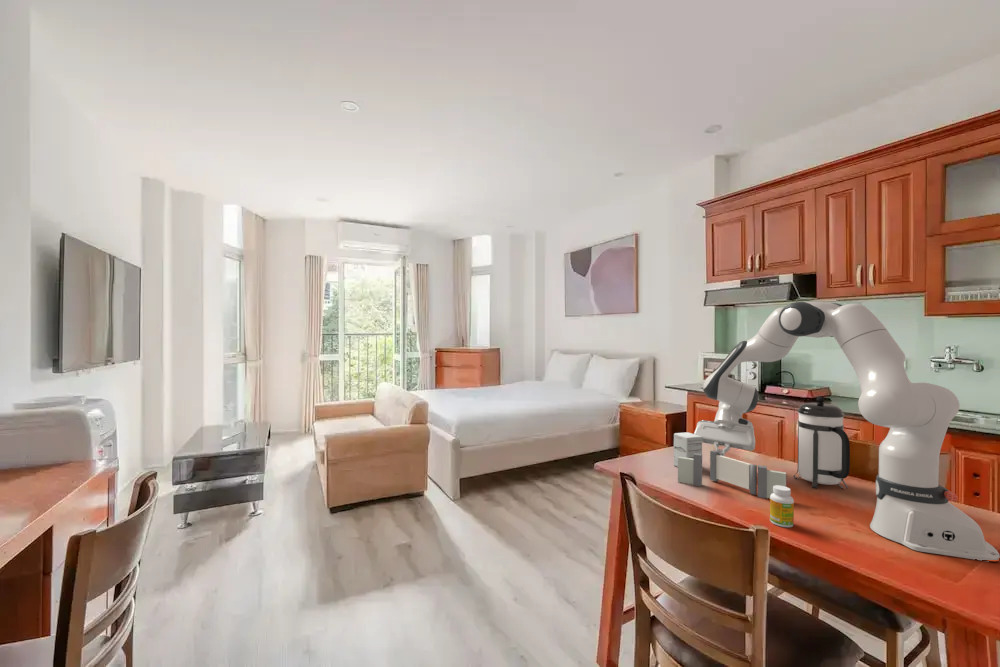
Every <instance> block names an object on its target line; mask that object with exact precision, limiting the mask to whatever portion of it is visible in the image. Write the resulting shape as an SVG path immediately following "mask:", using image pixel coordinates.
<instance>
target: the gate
mask: <svg viewBox="0 0 1000 667" xmlns="http://www.w3.org/2000/svg"><path fill="white" fill-rule="evenodd" d="M715 450H716V449H715ZM715 450H714V449H713V450H710V451H709V452H710V455H709V456H710V457H709V462H710V463H709V464H710V465H709V480H710V481H713V482H719V481H723V482H726V483H729V484H732V485H733V486H737V487H740V488H743V489H746V490H749V494H751V495H758V465H757V464H753V463H748V462H746V461H742V460H738V459H735V458H732V457H728V456H726V455H725V456H721V455H719V452H718V451H715Z"/></svg>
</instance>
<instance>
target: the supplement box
mask: <svg viewBox="0 0 1000 667" xmlns="http://www.w3.org/2000/svg"><path fill="white" fill-rule="evenodd" d="M694 453H700V454H702V455H703V443H702V437H701V436H697V435H694V433H691V432H689V431H688V432H675V433H673V466H674V467H677V468H678V457H686V458H692V459H694Z"/></svg>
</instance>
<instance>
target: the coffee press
mask: <svg viewBox="0 0 1000 667" xmlns="http://www.w3.org/2000/svg"><path fill="white" fill-rule="evenodd" d="M815 400H816V402H805V403H803V404H801V405H800V406H799V408H798V409H797V413H798V419H797V426H798V427H797V470H796V472H795V474H794V475H793V478H794V479H795V478H797V479H796V480H799V479H801V478H802V479H803V480H805V481H808V482H811V488H812V489H814V488H815V489H814V490H818V489H817V488H819V484H820V485H829V486H831V485H832V486H833V485H836V486H838V487H840V488H841V489H842V488H844V487H843V485H844V486H845V488H846V490H847V489H848V487H849V486H848V485H847V483H846V482H845V480H844V479H846V478H847V477H849V474H850V469H851V468H850V467H851V466H850V465H851V463H850V462H851V451H850V450H851V448H850V447H851V446H850V445H851V444H850V440H849V437H848V434H847V433H846V431H845V429H844V425H845V424H844V421H843V420H844V417H845V413H844V412H843V411H842V409H841V408H840V407H839V406H837V405H834V404H830V403H824V402H825V398H824V397H823V396H820V395H819V396H817V397H816V398H815ZM796 474H798V475H799V477H797V476H796ZM841 483H843V485H841Z"/></svg>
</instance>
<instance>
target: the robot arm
mask: <svg viewBox="0 0 1000 667" xmlns="http://www.w3.org/2000/svg"><path fill="white" fill-rule="evenodd" d="M799 337H808V338H818V339H819V338H827V337H828V338H829V337H831V338H834V339H835V341H836V342H837V343H838V345H839V347H840V348H841V350H842V352H843V353H844V355H845V356H846V358H847V359H848V361H849V363H850V365H851V367H852V368H853V369H854V371H855V374H856V376H857V379H858V382H859V387H860V393H861V394H860V396H859V398H858V403H857V407H858V411H859V412H860V414H861V416H862V417H863V418H864V419H865V420H866V421H867V422H869V423H871V424H873V425H876V426H879V427H883V428H889V430H888V433H887V435H886V436H885V438H884V439H883V440H882V441H881V442H880V444H879V447H878V474H876V479H875V496H876V497H877V498H876V504H875V505H876V506H875V509H874V514H873V517H872V519H871V522H870V524H869V527H870V529H871V530H872V531H873V532H875V533H876V534H878V535H880V536H882V537H883V538H886V539H888V540H890V541H893V542H896V543H899V544H901V545H903V546H905V547H907V548H909V549H911V550H913V551H916V552H922V553H929V554H934V555H943V556H949V557H956V558H962V559H963V558H964V559H969V560H975V559H977V560H978V561H982V560H998V559H999V558H1000V553H999V552H998V550H997V548H995V547H994V546H993V545H992V544H991V543H989V542H987V541H986V539H985V536H984V533H983V530H982V528H981V527H980V525H979V524H978V523H977V522H976V521H975V520H974V519H973V518H972V517H970V516H969V515H967V514H966V513H965V512H964V511H962V510H961V509H959V507H956V506H955V505H954V504H952V503H953V502H957V501H958V499H959V496H958V495H957V494H956V493H955V492H953V491H950V490H949V489H948V488H946V487H944V486H943V485H941V484H939V477H940V476H939V473H940V472H939V470H940V468H939V467H940V466H939V465H940V453H941V449H942V447H943V443H944V439H945V437H946V435H947V434H946V433H947V431H948V427H949V426H950V423H951V422H952V420H953V419H954V418H955V416H957V415H958V413H959V410H960V402H959V398H958V397H957V395H955V393H954V392H953V391H951V390H950V389H949V388H946V387H945V386H941V385H937V384H934V383H929V382H911V381H910V379H909V378H908V375H907V371H906V369H905V362H906V355H905V353H904V351H903V349H902V348H901V347H900V346H899V344H898V343H897V342H896V340H895V339H894V337H893V336H892V334H891V333H890V332H889V331H888V329H887V327H886V326H885V325H884V324H883V323H882V321H880V319H879V318H878V317H877V315H875V314H874V313H873V312H872V311H871V310H870V309H868V308H867V306H865V305H863V304H861V303H847V304H844V305H843V304H840V303H838V302H825V301H814V300H813V301H797V302H792V303H789V304H786V306H782V307H777V308H775V309H774V310H773V311H772V312H771V313H770V314H769V315H768V317H767V318H766V319H765V321H764V322H763V324H762V325H761V326H760V328H759V330H758V331H757V333H756V334H755V335H754V336H752V337H751V338H750V339H747V340H742V341H740V342H739V343H737V344H736V345H735V346H734V348H732V350H731V351H730V352H729V353H728V354H727V355H726V357H725V358H724V359H723V360H722V361H721V363H720V364H719V365H718V366H717V367H716V368H715V370H713V372H711V373H710V374H709V376H707V377H706V379H705V380H704V381H703V386H702V391H703V392H704V394H705V396H706V397H707V398H708V399H712V400H714V401H719V402H718V410H716V413H715V417H714V420H706V419H705V420H704V419H702V420H699V421H698V422H697V423H696V427H695V430H694V432H693V434H694V435H697V436H701V437H702V444H707V445H713V446H714V448H715V451H718V452H719V455H721V456H725V457H726V453H727V452H728V451H730V450H731V449H737V450H738V449H739V450H743V451H748V452H752V451H754V450H755V449H756V448H755V447H756V438H755V427H754V425H753V422H752V421H751V420H748V419H745V418H743V417H742V416H743V414H748V413H750V412H752V411H754V410H755V409H756V407H757V405H758V402H759V396H760V394H759V391H758V389H757V388H756V387H755V386H753V385H751V384H748V383H745V382H743V381H740V380H736V379H735V378H731V377H729V375H730V374H731V373H732V372H733V371H734V369H735V368H736V367H737V366H738V365H740V364H741V363H745V362H746V363H747V362H760V363H773V362H777V361H780V360H782V359H783V358H785V357H786V356H787V355H788V354H789V353H790V351H791V350H792V348H793V346H794V345H795V343H796V341H797V340H798V338H799ZM720 447H723V448H720ZM951 502H952V503H951ZM977 560H976V561H977Z"/></svg>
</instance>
